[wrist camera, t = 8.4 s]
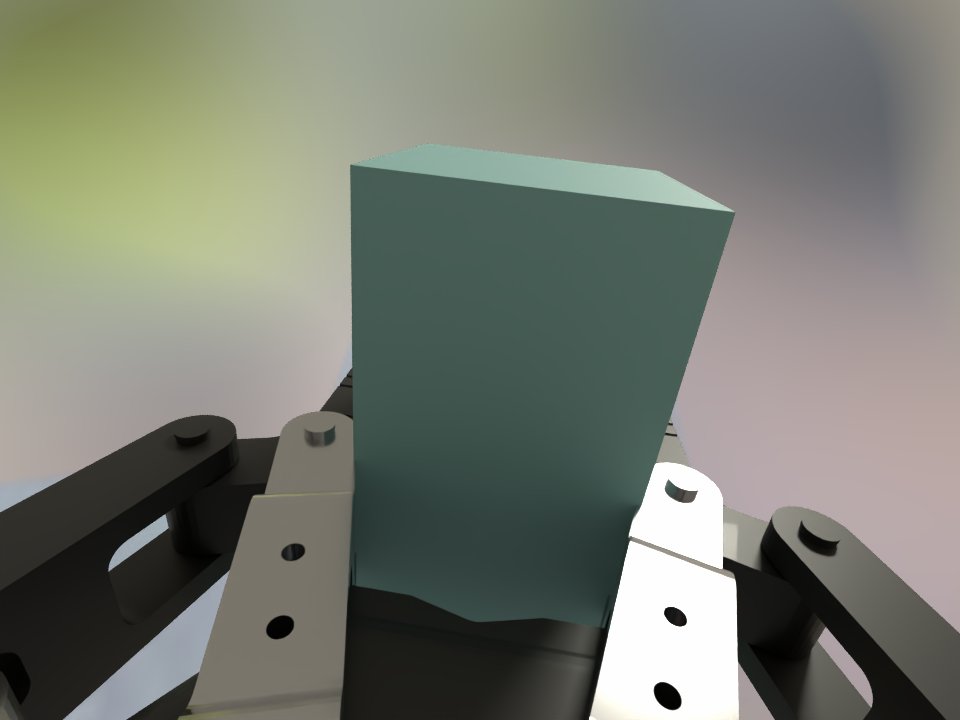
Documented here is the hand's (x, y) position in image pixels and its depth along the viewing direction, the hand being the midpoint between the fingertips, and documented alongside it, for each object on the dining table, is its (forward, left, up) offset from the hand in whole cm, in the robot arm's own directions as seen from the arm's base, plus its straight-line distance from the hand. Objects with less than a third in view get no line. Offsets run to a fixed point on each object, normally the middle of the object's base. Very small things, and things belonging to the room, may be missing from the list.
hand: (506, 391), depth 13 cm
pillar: (-1, -2, -6) cm, 7 cm away
